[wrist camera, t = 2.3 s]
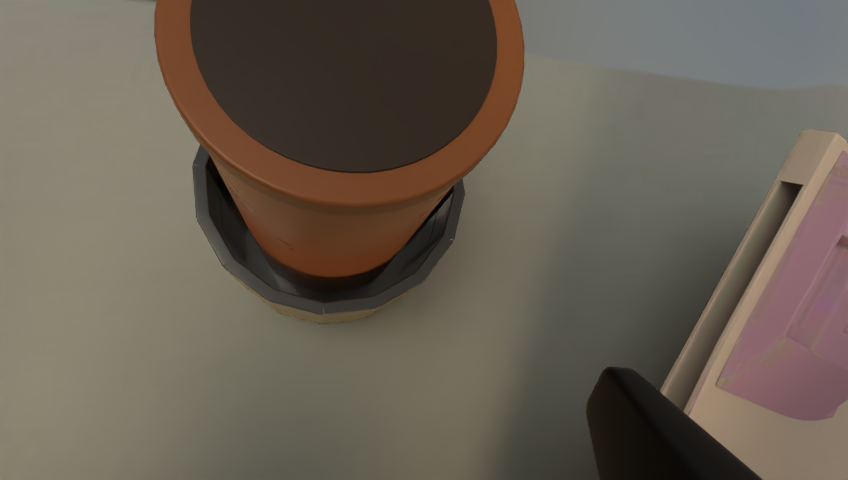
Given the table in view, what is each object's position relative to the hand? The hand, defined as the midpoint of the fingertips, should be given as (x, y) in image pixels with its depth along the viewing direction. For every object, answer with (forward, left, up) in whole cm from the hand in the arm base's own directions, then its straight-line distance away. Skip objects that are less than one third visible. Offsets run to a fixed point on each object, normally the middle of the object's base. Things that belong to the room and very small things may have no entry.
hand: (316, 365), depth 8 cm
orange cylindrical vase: (+5, +1, -11) cm, 12 cm away
